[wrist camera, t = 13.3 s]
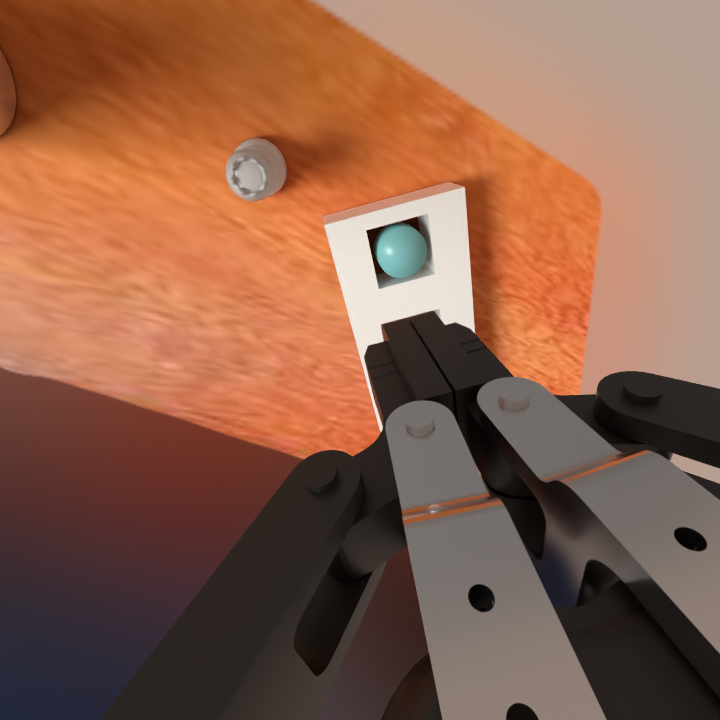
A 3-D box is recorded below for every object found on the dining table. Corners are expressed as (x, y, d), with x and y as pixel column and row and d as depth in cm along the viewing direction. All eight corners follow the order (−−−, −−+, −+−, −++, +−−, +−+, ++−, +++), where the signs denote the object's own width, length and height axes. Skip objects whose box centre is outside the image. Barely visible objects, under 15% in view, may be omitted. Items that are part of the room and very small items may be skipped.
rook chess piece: (283, 136, 30) (277, 137, 24) (289, 195, 33) (286, 211, 26) (227, 137, 30) (205, 138, 23) (238, 197, 32) (220, 214, 26)
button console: (378, 422, 48) (383, 444, 44) (322, 216, 34) (324, 225, 31) (468, 398, 48) (480, 418, 44) (448, 181, 34) (464, 186, 30)
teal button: (378, 274, 36) (383, 283, 34) (369, 229, 33) (373, 235, 31) (422, 262, 36) (430, 270, 34) (416, 216, 33) (423, 221, 31)
